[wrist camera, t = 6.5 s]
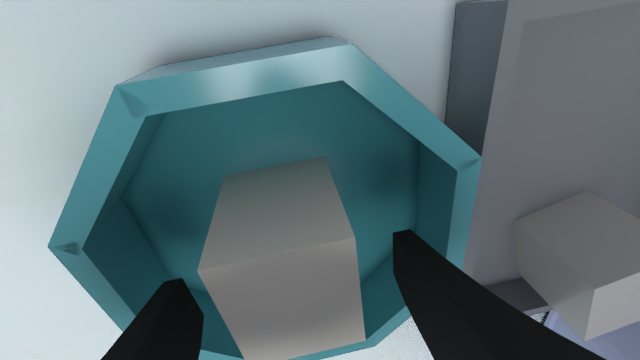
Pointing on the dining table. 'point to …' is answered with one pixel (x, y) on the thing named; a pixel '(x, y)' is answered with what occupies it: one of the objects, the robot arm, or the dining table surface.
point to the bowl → (253, 154)
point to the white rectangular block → (284, 262)
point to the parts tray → (543, 118)
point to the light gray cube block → (583, 262)
